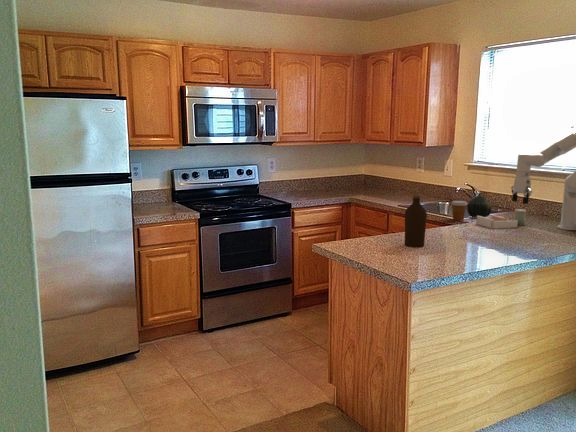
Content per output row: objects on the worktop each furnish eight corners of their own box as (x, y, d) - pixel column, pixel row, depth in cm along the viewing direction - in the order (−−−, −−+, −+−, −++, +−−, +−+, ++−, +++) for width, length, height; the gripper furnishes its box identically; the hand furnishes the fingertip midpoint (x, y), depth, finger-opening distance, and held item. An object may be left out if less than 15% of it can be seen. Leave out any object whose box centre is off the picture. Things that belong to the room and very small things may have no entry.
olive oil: (418, 248, 246) (421, 197, 242) (399, 245, 253) (401, 195, 249) (429, 245, 253) (431, 195, 249) (410, 241, 260) (412, 193, 256)
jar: (527, 225, 309) (528, 210, 307) (518, 225, 307) (519, 210, 306) (520, 223, 315) (521, 208, 313) (511, 223, 313) (512, 209, 312)
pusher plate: (506, 226, 302) (506, 218, 301) (503, 227, 301) (504, 218, 300) (492, 223, 313) (493, 215, 313) (490, 223, 313) (491, 215, 312)
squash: (480, 211, 325) (489, 193, 329) (460, 209, 337) (469, 191, 341) (489, 224, 332) (498, 206, 337) (469, 222, 344) (478, 204, 349)
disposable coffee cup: (449, 220, 323) (450, 201, 321) (451, 218, 332) (452, 200, 330) (464, 221, 319) (465, 202, 317) (467, 219, 327) (468, 201, 325)
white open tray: (517, 227, 302) (517, 218, 301) (492, 228, 298) (492, 220, 297) (500, 222, 316) (501, 214, 316) (476, 223, 312) (476, 215, 312)
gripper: (538, 175, 299) (535, 204, 302) (518, 172, 315) (515, 200, 318) (527, 175, 297) (524, 204, 300) (508, 172, 313) (505, 200, 316)
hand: (519, 202), depth 309 cm, fingers open, 9 cm apart
